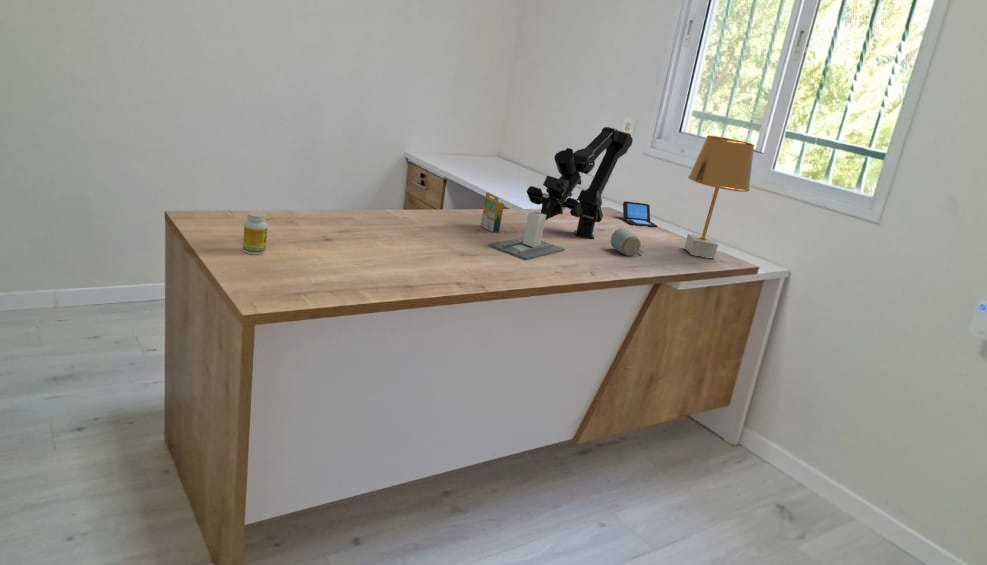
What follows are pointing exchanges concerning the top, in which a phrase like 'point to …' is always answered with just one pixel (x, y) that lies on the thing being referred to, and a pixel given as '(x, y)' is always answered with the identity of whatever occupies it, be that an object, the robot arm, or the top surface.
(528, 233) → the fader knob
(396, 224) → the top surface
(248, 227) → the supplement bottle
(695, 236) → the lamp
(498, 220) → the crayon box
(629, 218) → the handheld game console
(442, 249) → the top surface
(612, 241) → the ceramic mug
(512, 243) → the fader console
